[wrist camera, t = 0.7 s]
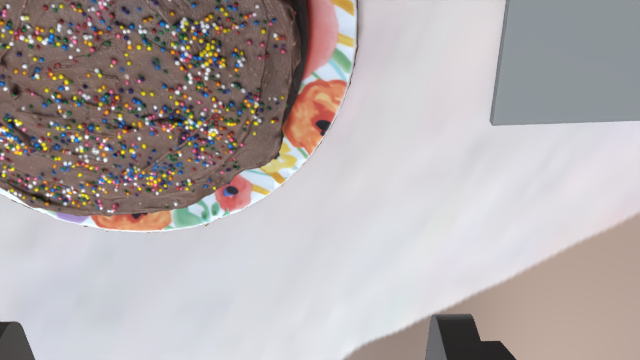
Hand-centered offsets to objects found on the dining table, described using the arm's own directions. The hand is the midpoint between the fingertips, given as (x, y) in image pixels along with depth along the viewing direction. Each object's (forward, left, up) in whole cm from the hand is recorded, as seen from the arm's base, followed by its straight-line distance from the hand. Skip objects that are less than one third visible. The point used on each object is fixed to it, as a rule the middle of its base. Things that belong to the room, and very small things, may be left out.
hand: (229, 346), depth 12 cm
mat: (+2, +18, -25) cm, 31 cm away
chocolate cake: (+1, -10, -26) cm, 27 cm away
